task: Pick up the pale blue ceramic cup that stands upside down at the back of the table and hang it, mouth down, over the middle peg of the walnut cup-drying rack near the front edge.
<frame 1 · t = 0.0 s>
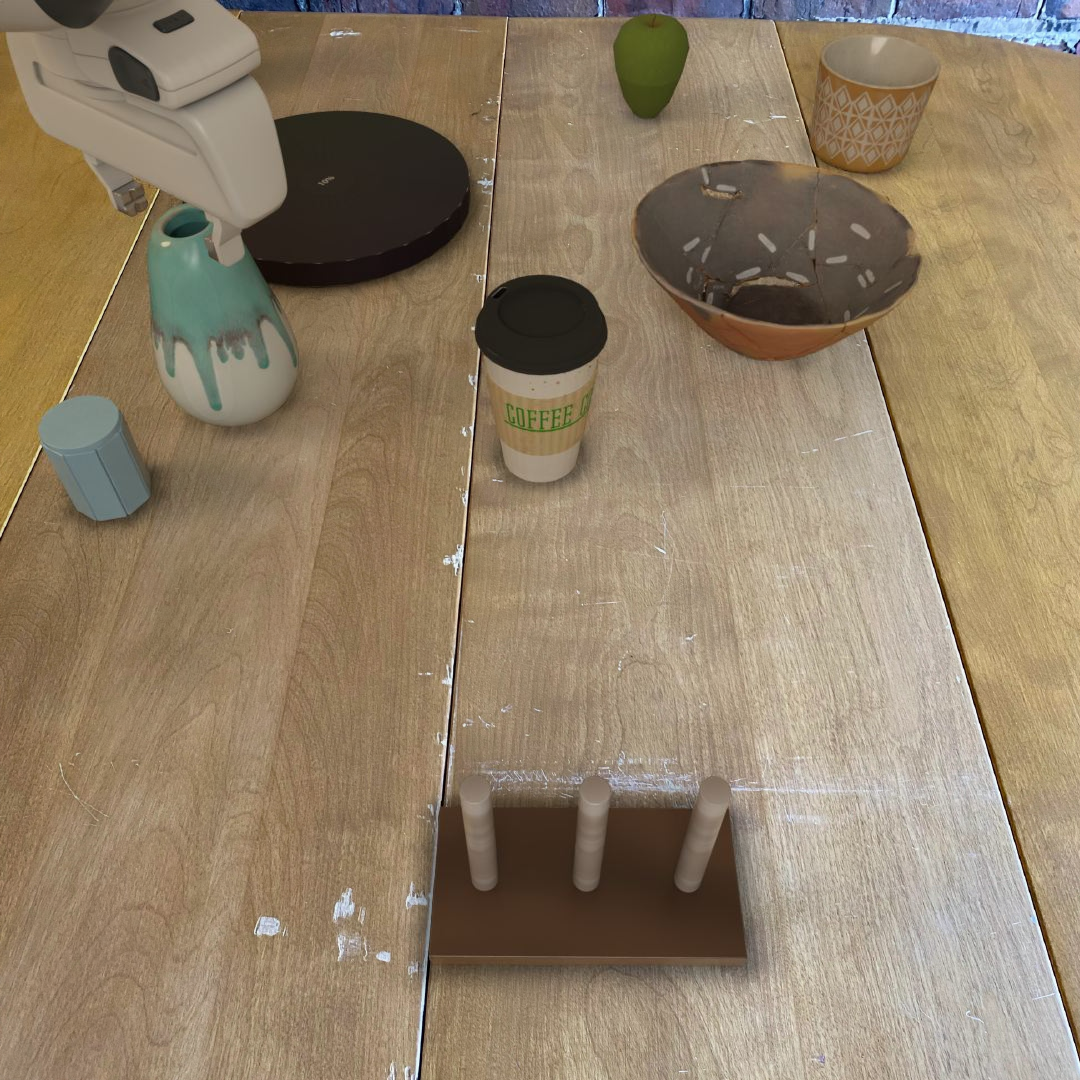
hand: (179, 233, 65), 22 cm above the table, tool pointing down, fingers open, 8 cm apart
bowl: (755, 326, 94), on the table
blue cup: (114, 493, 80), on the table
coffee cup: (540, 457, 83), on the table
apple: (645, 114, 120), on the table
vase: (242, 400, 87), on the table
planter: (855, 152, 114), on the table
disc: (331, 206, 107), on the table
cup rack: (585, 887, 60), on the table
soda can: (201, 85, 124), on the table
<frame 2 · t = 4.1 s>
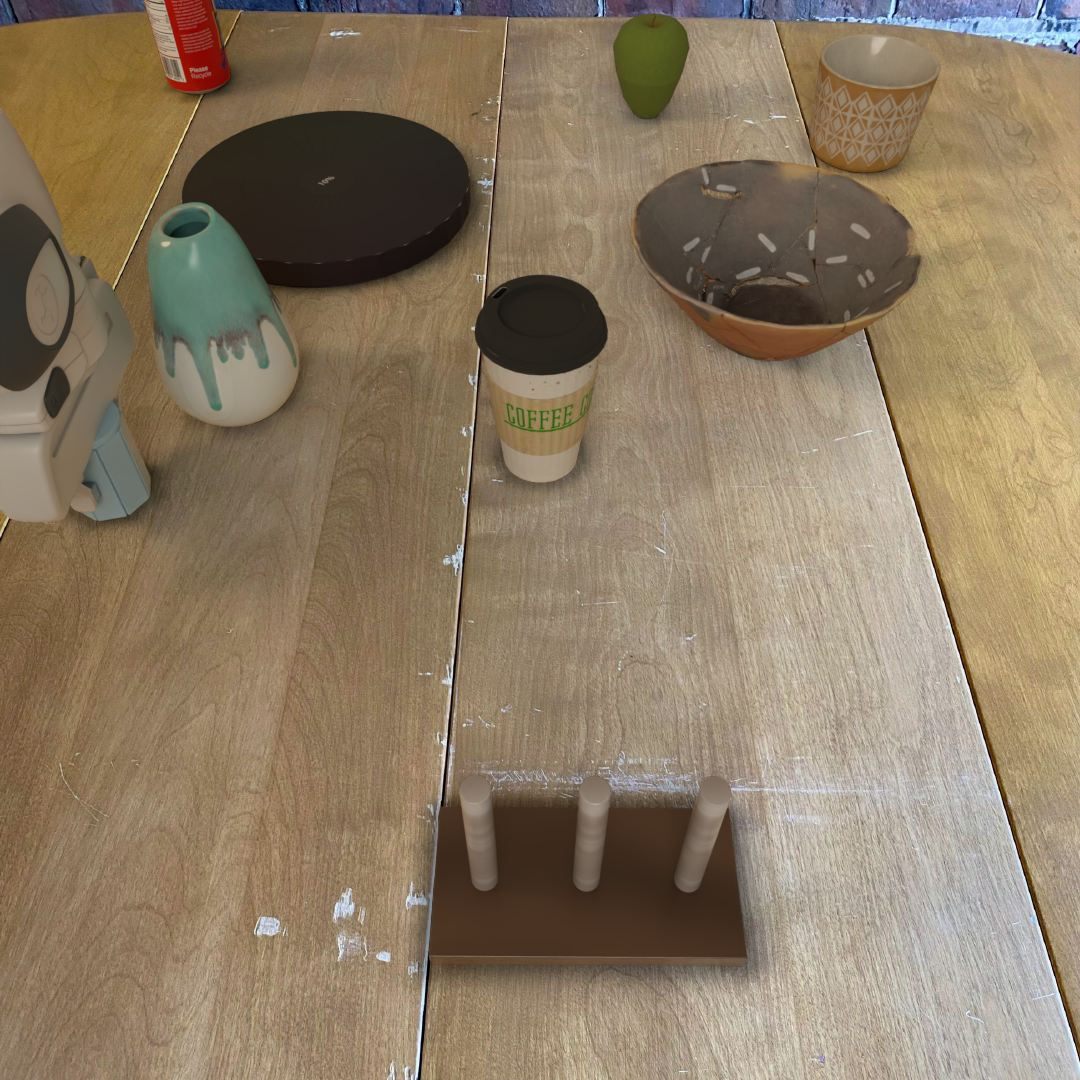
hand: (102, 469, 78), 3 cm above the table, tool pointing down, fingers closed on blue cup, 6 cm apart
blue cup: (113, 492, 80), on the table, touching gripper
everything else where it was.
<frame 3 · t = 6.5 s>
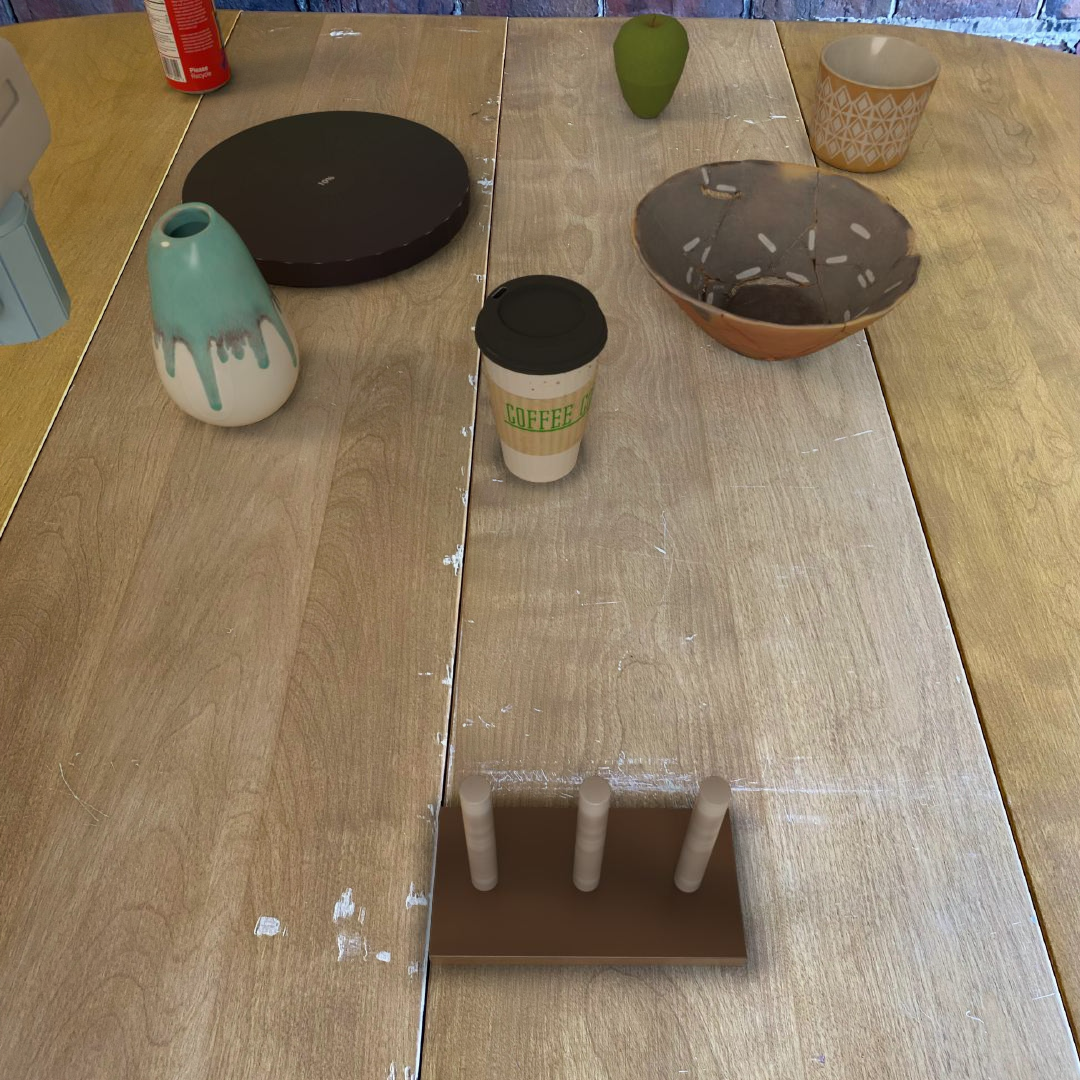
hand: (8, 282, 64), 20 cm above the table, tool pointing down, fingers closed on blue cup, 6 cm apart
blue cup: (25, 317, 66), point 18 cm above the table, touching gripper
everything else where it was.
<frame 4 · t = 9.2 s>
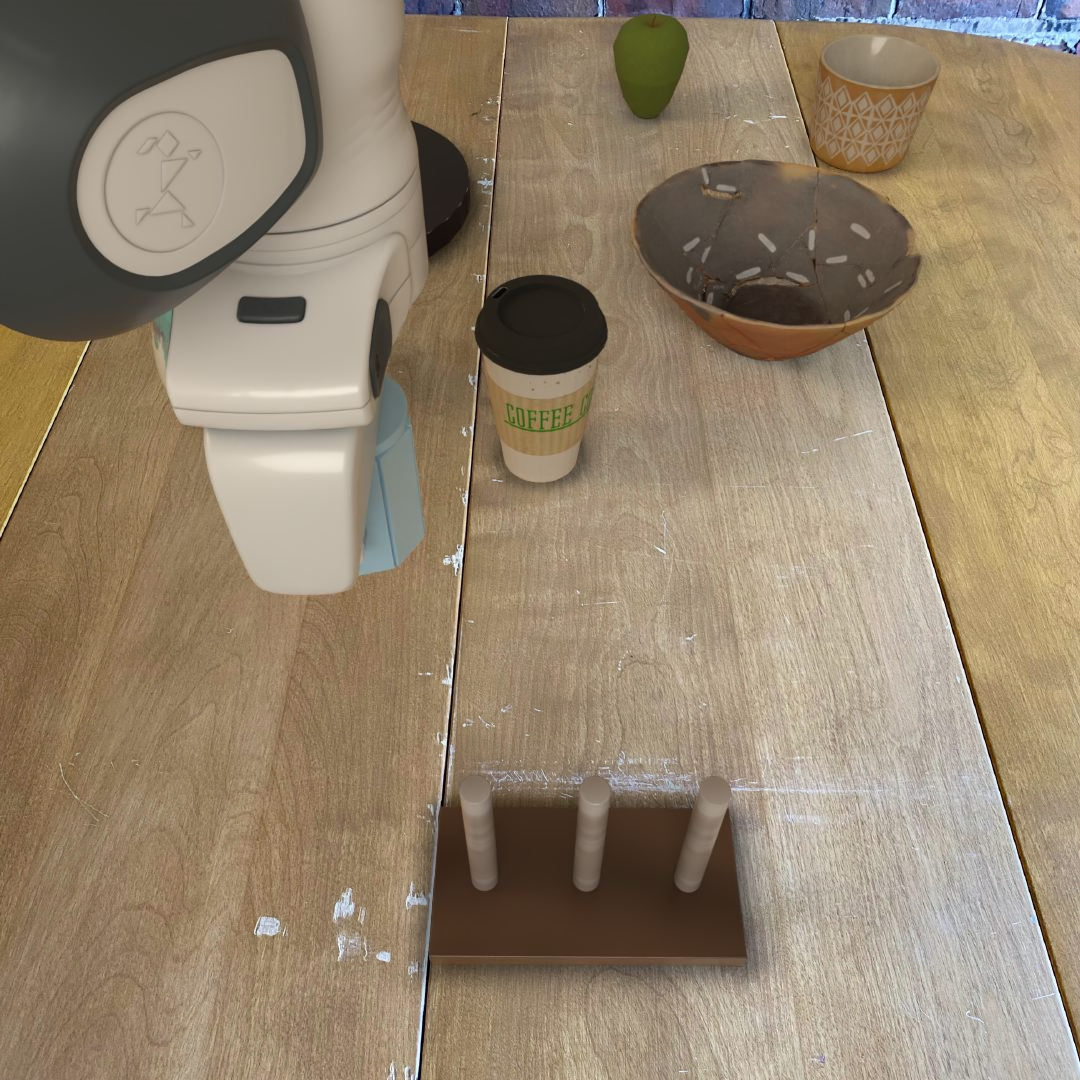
hand: (356, 492, 47), 25 cm above the table, tool pointing down, fingers closed on blue cup, 6 cm apart
blue cup: (364, 528, 49), point 22 cm above the table, touching gripper
everything else where it was.
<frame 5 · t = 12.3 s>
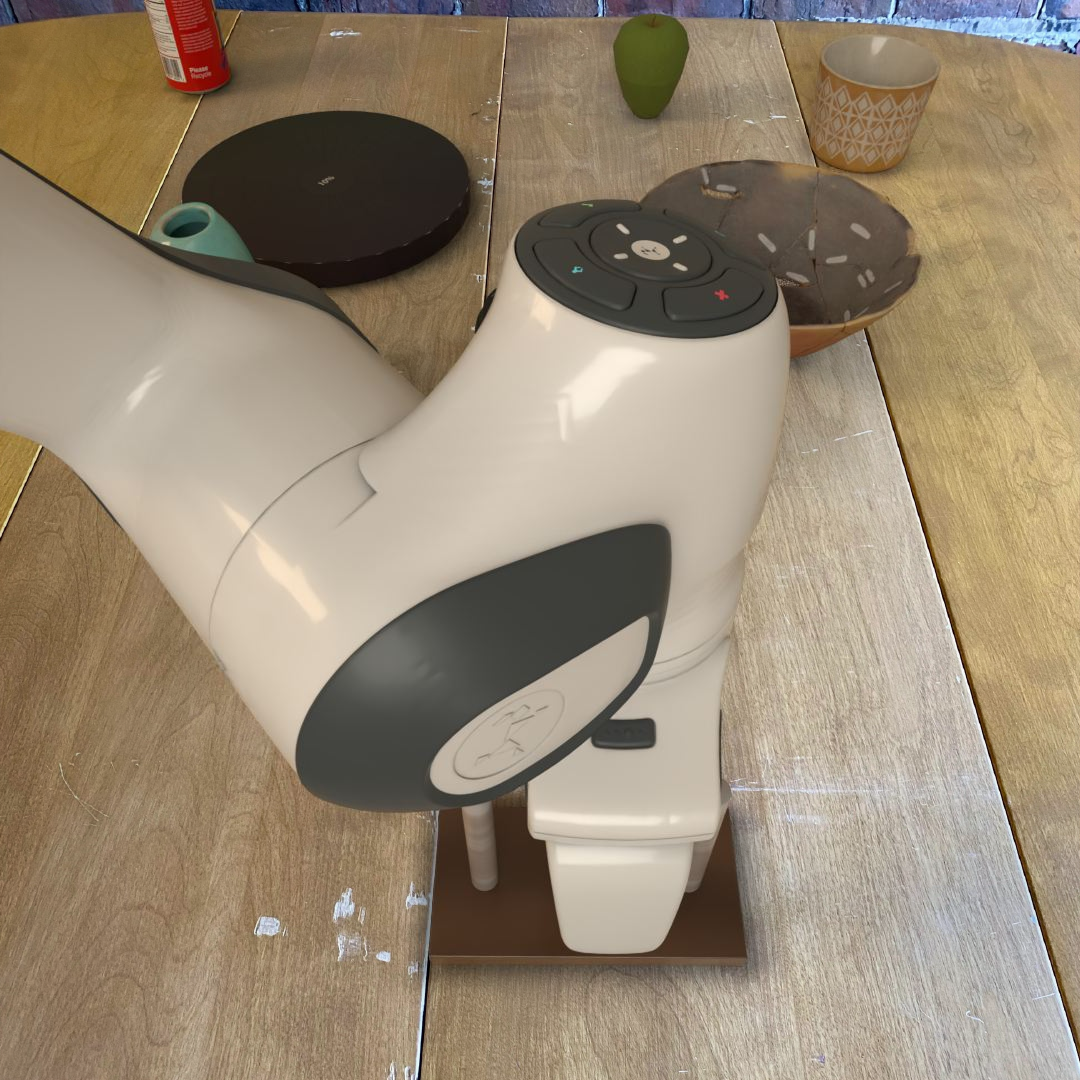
hand: (597, 774, 48), 15 cm above the table, tool pointing down, fingers closed on blue cup, 6 cm apart
blue cup: (595, 797, 50), point 12 cm above the table, touching gripper
everything else where it was.
when the fingers open (9 cm above the table, at t = 14.7 s): blue cup stays where it is, resting on cup rack.
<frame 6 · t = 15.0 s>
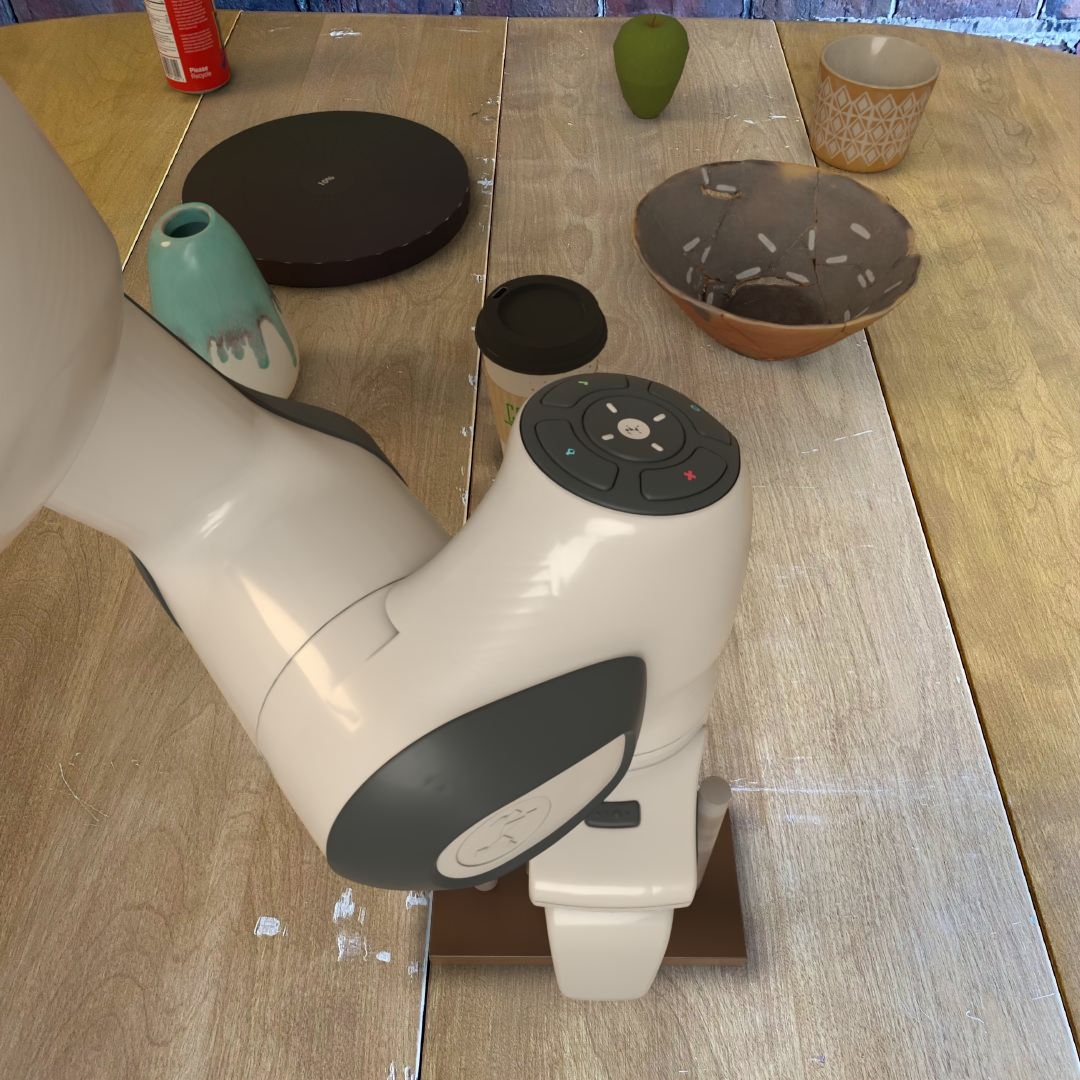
hand: (591, 828, 53), 9 cm above the table, tool pointing down, fingers open, 8 cm apart
blue cup: (590, 846, 55), point 6 cm above the table, touching cup rack
everything else where it was.
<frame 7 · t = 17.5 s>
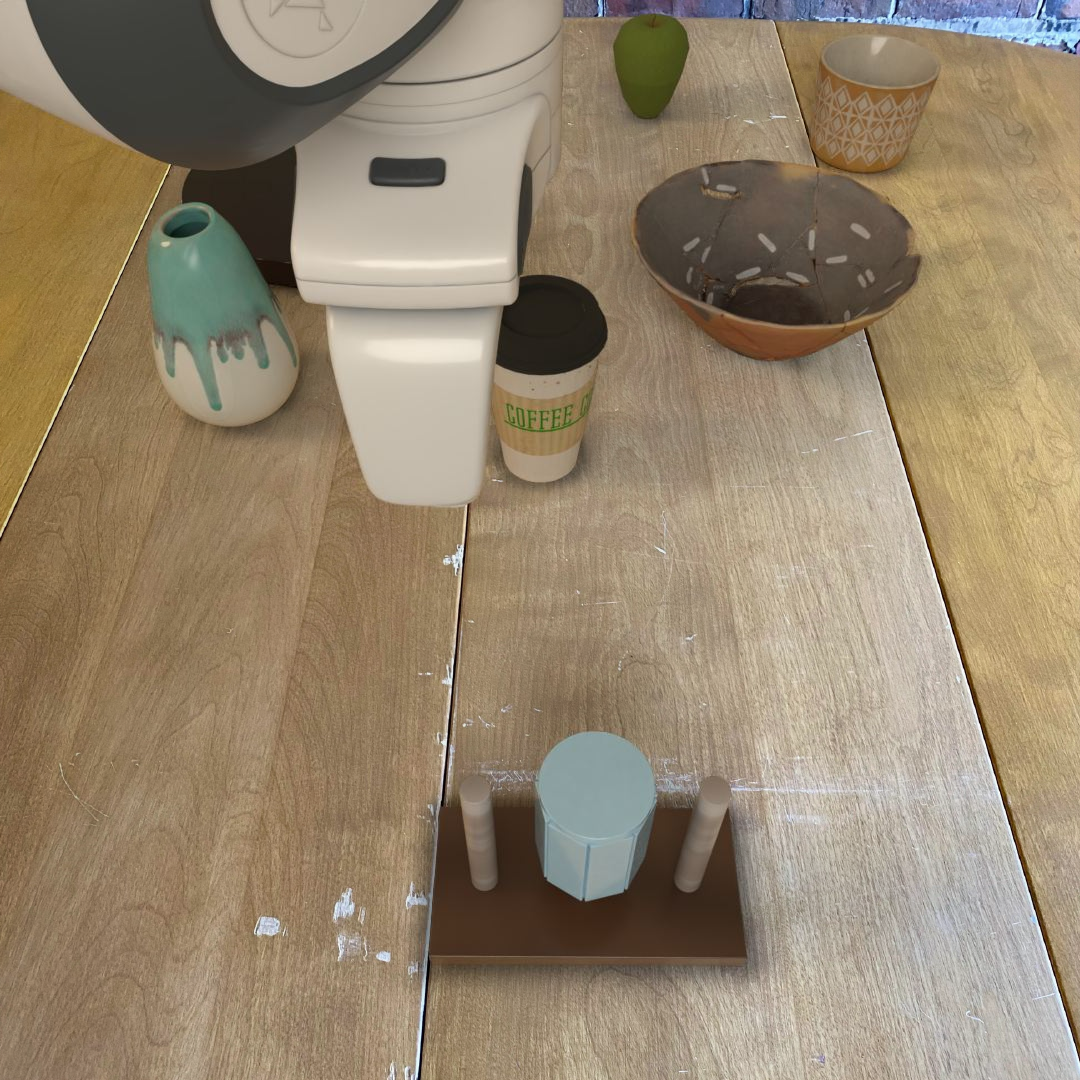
hand: (456, 414, 43), 30 cm above the table, tool pointing down, fingers open, 8 cm apart
nothing on the table moved.
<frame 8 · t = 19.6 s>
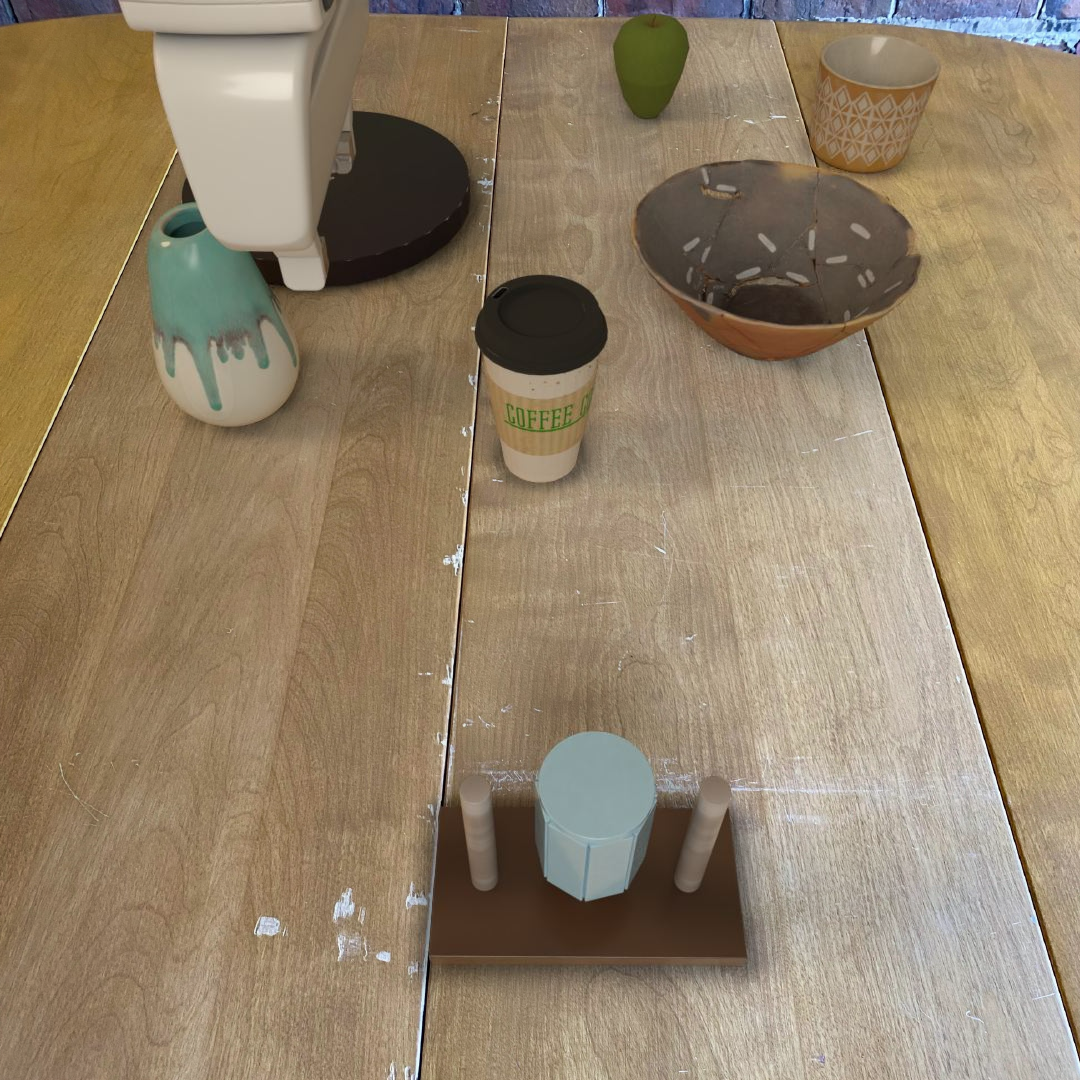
hand: (324, 220, 47), 33 cm above the table, tool pointing down, fingers open, 8 cm apart
nothing on the table moved.
at the end: blue cup 0.1 cm off-centre on the cup rack, point 6.1 cm above the cup rack's base; blue cup tilted 0°; the gripper is holding nothing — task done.
